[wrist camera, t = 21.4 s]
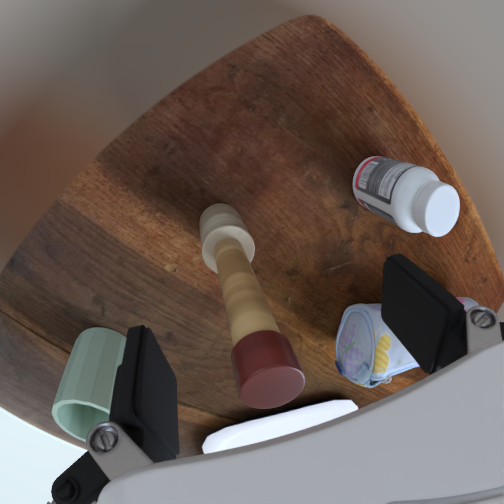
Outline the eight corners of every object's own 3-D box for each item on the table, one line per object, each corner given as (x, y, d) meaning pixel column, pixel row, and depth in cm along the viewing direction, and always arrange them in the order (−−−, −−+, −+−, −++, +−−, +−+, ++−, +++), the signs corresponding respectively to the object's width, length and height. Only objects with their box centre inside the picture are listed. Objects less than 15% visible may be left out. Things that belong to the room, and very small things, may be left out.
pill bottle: (400, 194, 28) (468, 226, 19) (360, 217, 28) (423, 259, 19) (386, 146, 26) (460, 164, 17) (343, 168, 26) (411, 193, 17)
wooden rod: (194, 209, 25) (208, 370, 9) (236, 198, 25) (319, 338, 9) (205, 247, 26) (235, 427, 10) (244, 236, 27) (323, 401, 11)
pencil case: (321, 350, 35) (353, 408, 26) (339, 288, 31) (385, 344, 23) (437, 332, 39) (473, 369, 31) (458, 282, 36) (501, 317, 27)
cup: (64, 333, 27) (36, 402, 18) (120, 320, 28) (103, 396, 19) (95, 379, 30) (81, 447, 21) (148, 370, 31) (144, 443, 22)
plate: (188, 422, 36) (189, 432, 35) (361, 380, 39) (366, 388, 38) (223, 482, 47) (224, 489, 45) (343, 452, 50) (346, 458, 48)
